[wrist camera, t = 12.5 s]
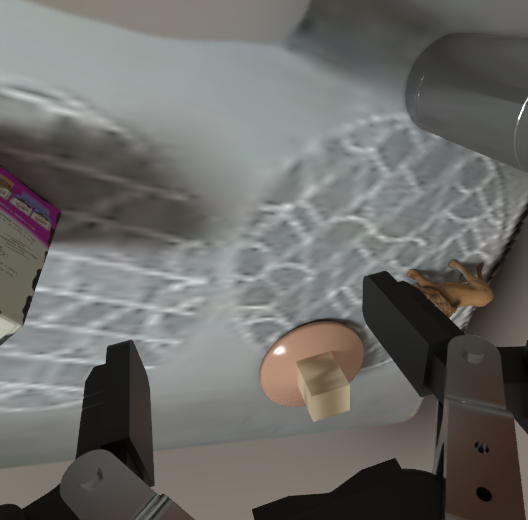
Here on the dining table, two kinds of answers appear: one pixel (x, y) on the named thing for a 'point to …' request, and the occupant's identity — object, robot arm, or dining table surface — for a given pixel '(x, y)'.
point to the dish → (303, 346)
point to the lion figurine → (455, 290)
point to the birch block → (323, 386)
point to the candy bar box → (21, 248)
